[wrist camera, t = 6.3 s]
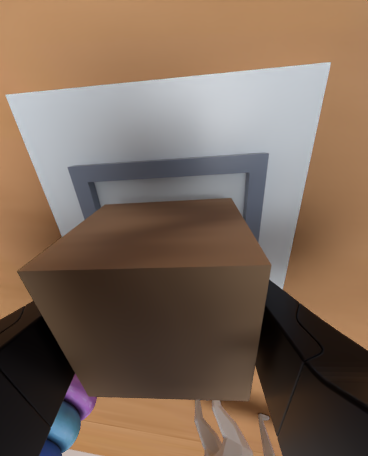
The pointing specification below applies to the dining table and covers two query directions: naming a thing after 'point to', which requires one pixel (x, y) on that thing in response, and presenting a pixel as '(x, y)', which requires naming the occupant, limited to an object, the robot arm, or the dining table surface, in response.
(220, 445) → the cat figurine
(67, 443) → the stacking toy
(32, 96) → the board
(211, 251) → the walnut block
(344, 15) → the dining table surface
